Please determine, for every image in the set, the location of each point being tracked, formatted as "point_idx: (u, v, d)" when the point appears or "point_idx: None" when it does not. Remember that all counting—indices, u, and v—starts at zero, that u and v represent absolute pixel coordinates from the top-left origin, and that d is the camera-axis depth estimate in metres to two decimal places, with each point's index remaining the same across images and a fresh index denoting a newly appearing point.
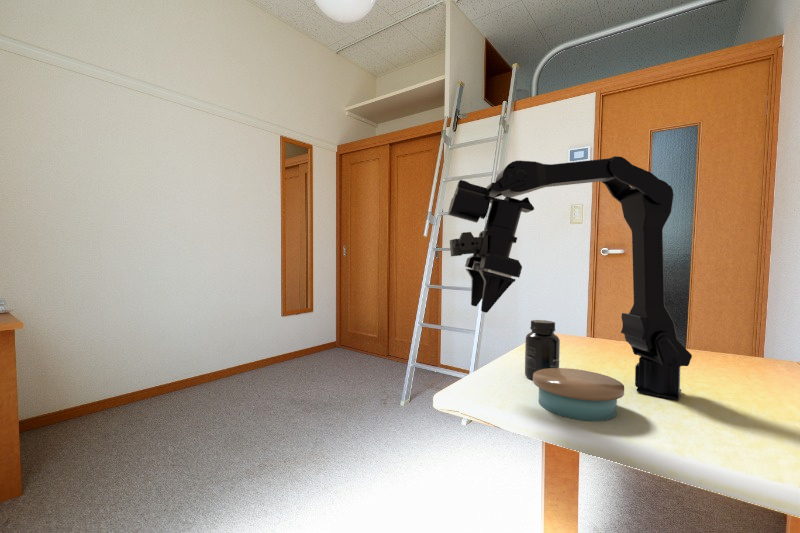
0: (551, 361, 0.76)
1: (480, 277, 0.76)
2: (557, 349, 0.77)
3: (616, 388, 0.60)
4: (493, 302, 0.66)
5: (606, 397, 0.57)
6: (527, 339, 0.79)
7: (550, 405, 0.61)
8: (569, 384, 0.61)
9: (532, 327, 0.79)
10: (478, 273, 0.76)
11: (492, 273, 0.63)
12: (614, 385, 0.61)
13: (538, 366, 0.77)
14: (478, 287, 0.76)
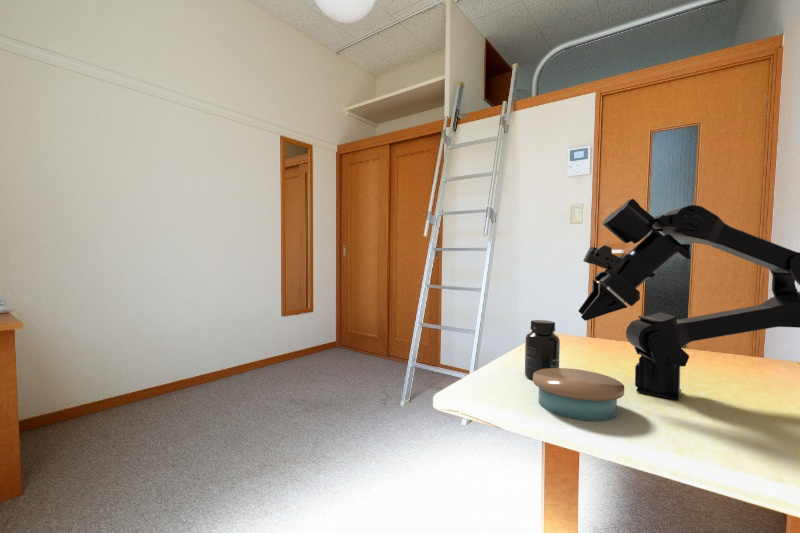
0: (551, 361, 0.76)
1: None
2: (557, 349, 0.77)
3: (616, 388, 0.60)
4: (596, 315, 0.70)
5: (606, 397, 0.57)
6: (527, 339, 0.79)
7: (550, 405, 0.61)
8: (569, 384, 0.61)
9: (532, 327, 0.79)
10: None
11: (608, 290, 0.67)
12: (614, 385, 0.61)
13: (538, 366, 0.77)
14: (593, 300, 0.80)
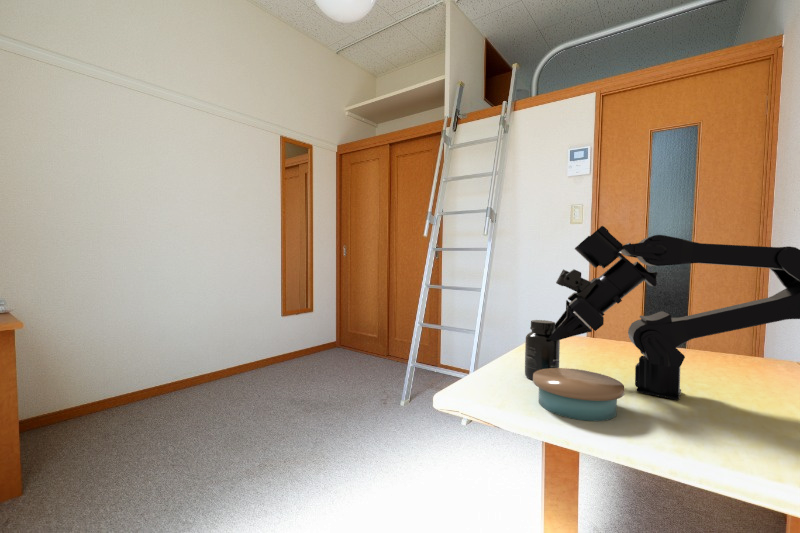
0: (551, 361, 0.76)
1: None
2: (557, 349, 0.77)
3: (616, 388, 0.60)
4: (563, 337, 0.73)
5: (606, 397, 0.57)
6: (527, 339, 0.79)
7: (550, 405, 0.61)
8: (569, 384, 0.61)
9: (532, 327, 0.79)
10: (573, 309, 0.82)
11: (574, 314, 0.70)
12: (614, 385, 0.61)
13: (538, 366, 0.77)
14: None
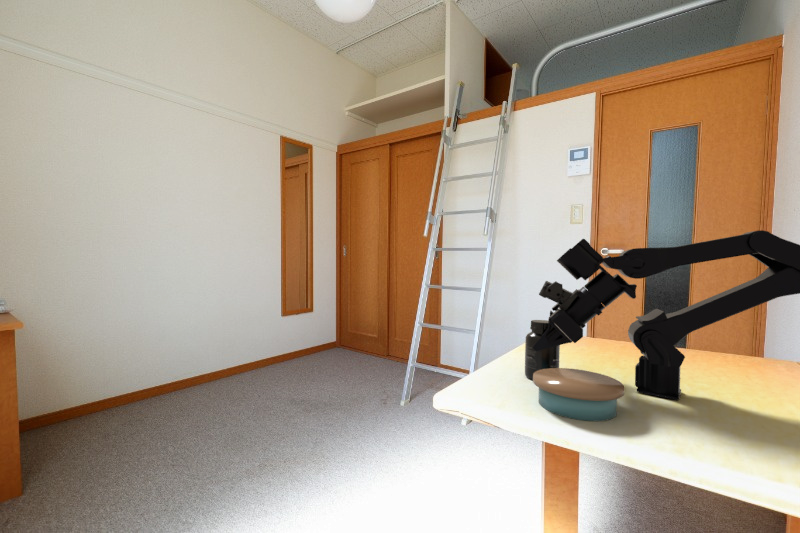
0: (551, 361, 0.76)
1: None
2: (557, 349, 0.77)
3: (616, 388, 0.60)
4: (545, 347, 0.75)
5: (606, 397, 0.57)
6: (527, 339, 0.79)
7: (550, 405, 0.61)
8: (569, 384, 0.61)
9: (532, 327, 0.79)
10: None
11: (555, 325, 0.72)
12: (614, 385, 0.61)
13: (538, 366, 0.77)
14: None
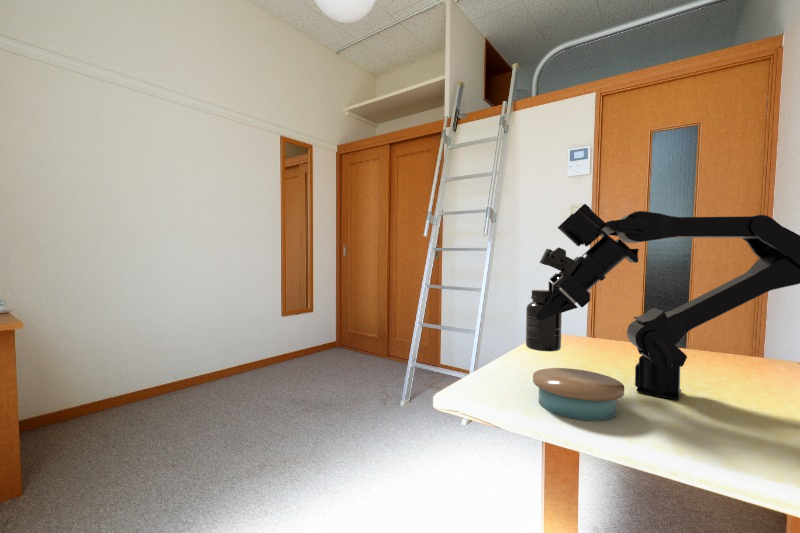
0: (554, 330, 0.74)
1: None
2: (560, 318, 0.75)
3: (616, 388, 0.60)
4: (549, 315, 0.73)
5: (606, 397, 0.57)
6: (529, 309, 0.77)
7: (550, 405, 0.61)
8: (569, 384, 0.61)
9: (533, 296, 0.77)
10: None
11: (560, 291, 0.70)
12: (614, 385, 0.61)
13: (541, 335, 0.75)
14: None
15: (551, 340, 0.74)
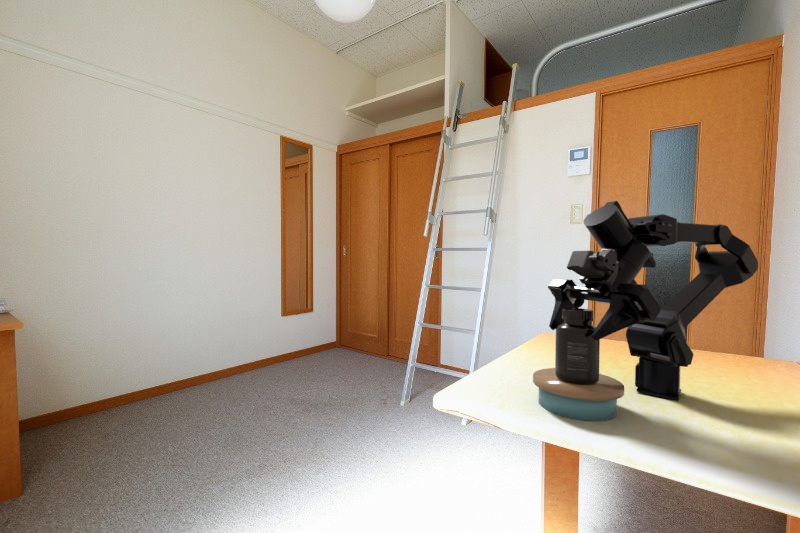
0: None
1: (567, 304, 0.69)
2: None
3: (616, 388, 0.60)
4: (608, 333, 0.59)
5: (606, 397, 0.57)
6: (572, 334, 0.61)
7: (550, 405, 0.61)
8: (569, 384, 0.61)
9: (574, 318, 0.62)
10: (567, 299, 0.69)
11: (633, 303, 0.57)
12: (614, 385, 0.61)
13: (590, 365, 0.61)
14: None
15: (598, 369, 0.62)
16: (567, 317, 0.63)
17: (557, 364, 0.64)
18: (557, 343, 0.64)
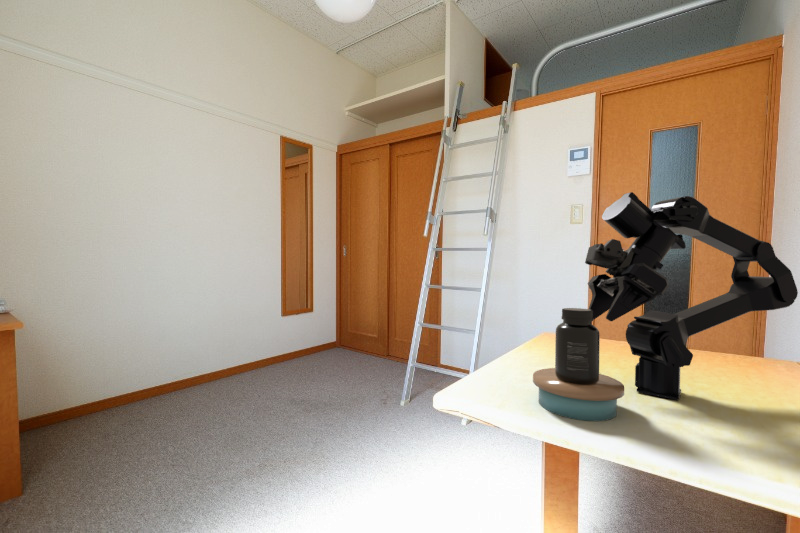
0: None
1: (603, 296, 0.75)
2: None
3: (616, 388, 0.60)
4: (622, 313, 0.64)
5: (606, 397, 0.57)
6: (572, 334, 0.61)
7: (550, 405, 0.61)
8: (569, 384, 0.61)
9: (574, 318, 0.62)
10: (602, 292, 0.75)
11: (634, 282, 0.62)
12: (614, 385, 0.61)
13: (590, 365, 0.61)
14: (598, 304, 0.75)
15: (598, 369, 0.62)
16: (567, 317, 0.63)
17: (557, 364, 0.64)
18: (557, 343, 0.64)
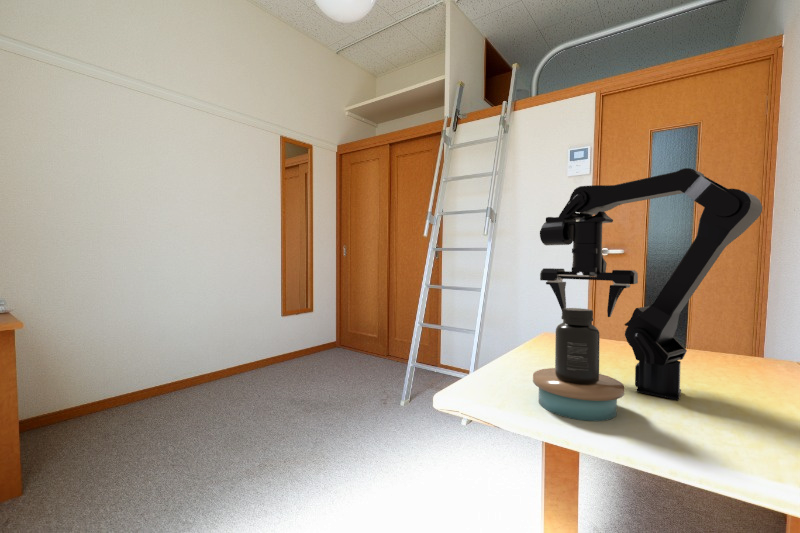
0: None
1: None
2: None
3: (616, 388, 0.60)
4: (559, 303, 0.86)
5: (606, 397, 0.57)
6: (572, 334, 0.61)
7: (550, 405, 0.61)
8: (569, 384, 0.61)
9: (574, 318, 0.62)
10: None
11: None
12: (614, 385, 0.61)
13: (590, 365, 0.61)
14: None
15: (598, 369, 0.62)
16: (567, 317, 0.63)
17: (557, 364, 0.64)
18: (557, 343, 0.64)
